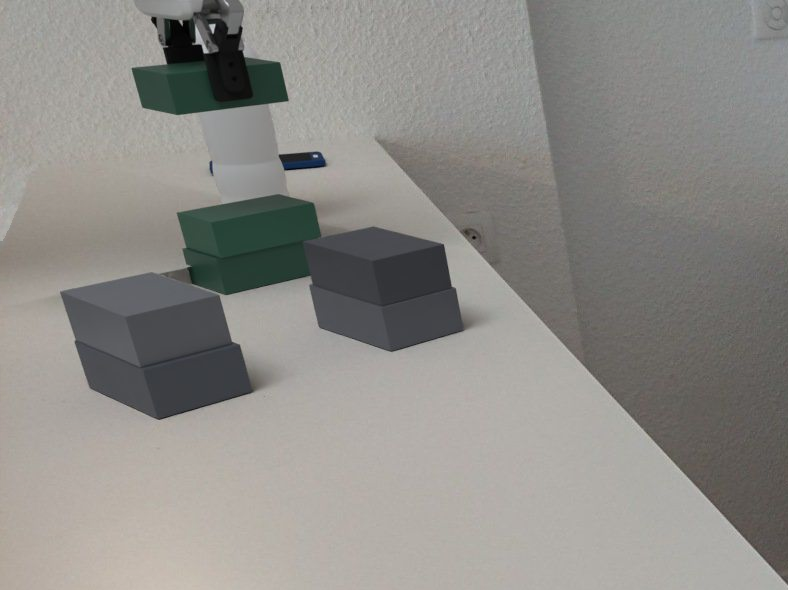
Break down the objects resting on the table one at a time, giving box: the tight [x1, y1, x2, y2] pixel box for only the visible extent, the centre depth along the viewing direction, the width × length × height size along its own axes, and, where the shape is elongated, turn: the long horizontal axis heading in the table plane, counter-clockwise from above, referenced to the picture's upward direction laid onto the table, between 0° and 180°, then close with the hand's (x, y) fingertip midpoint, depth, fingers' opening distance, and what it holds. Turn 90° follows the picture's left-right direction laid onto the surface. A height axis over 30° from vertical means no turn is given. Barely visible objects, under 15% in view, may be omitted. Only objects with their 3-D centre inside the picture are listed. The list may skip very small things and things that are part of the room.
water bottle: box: [192, 24, 291, 205], centre depth 138 cm, size 7×7×25 cm
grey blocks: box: [59, 226, 464, 420], centre depth 103 cm, size 26×11×8 cm, turn 144°
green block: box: [131, 57, 290, 116], centre depth 115 cm, size 10×6×3 cm, turn 144°
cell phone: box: [208, 151, 326, 175], centre depth 173 cm, size 7×14×1 cm, turn 118°
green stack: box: [176, 194, 323, 295], centre depth 124 cm, size 10×7×7 cm, turn 144°
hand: (213, 94), depth 115 cm, fingers closed on green block, 6 cm apart
